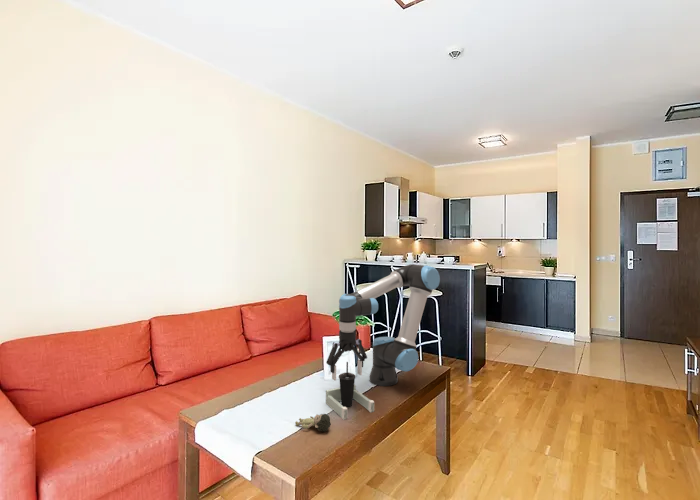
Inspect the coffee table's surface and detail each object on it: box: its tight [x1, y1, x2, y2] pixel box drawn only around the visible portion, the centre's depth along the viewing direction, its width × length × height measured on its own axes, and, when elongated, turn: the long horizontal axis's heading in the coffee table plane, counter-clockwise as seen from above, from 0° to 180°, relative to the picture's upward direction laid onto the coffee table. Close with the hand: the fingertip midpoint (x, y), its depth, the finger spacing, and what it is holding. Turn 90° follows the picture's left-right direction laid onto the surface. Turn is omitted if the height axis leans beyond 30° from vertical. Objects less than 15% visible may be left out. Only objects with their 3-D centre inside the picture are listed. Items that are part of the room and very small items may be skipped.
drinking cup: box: [338, 361, 357, 409], centre depth 171 cm, size 8×8×20 cm
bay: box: [325, 383, 375, 421], centre depth 170 cm, size 15×18×6 cm
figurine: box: [295, 413, 332, 433], centre depth 152 cm, size 8×6×15 cm
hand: (347, 377), depth 171 cm, fingers open, 12 cm apart
